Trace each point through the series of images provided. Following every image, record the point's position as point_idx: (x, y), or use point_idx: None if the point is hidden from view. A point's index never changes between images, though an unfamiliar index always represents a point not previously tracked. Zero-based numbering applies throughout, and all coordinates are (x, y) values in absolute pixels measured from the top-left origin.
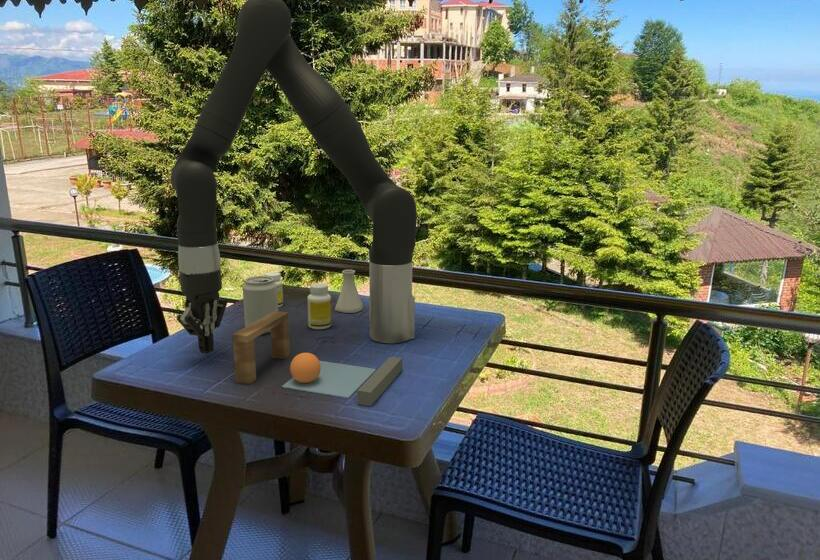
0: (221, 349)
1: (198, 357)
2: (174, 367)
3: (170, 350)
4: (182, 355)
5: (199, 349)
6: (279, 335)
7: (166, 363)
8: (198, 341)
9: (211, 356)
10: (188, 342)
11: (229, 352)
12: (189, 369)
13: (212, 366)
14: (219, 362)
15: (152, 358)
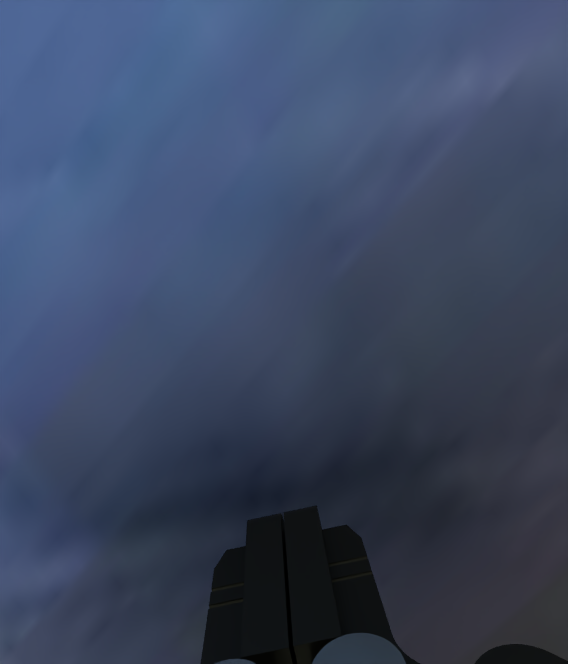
0: (505, 443)
1: (276, 424)
2: (18, 432)
3: (255, 59)
4: (232, 271)
5: (217, 569)
6: None
7: (28, 305)
8: (207, 633)
9: (348, 493)
10: (504, 31)
11: (484, 543)
12: (68, 555)
13: None
14: None
15: (18, 85)
